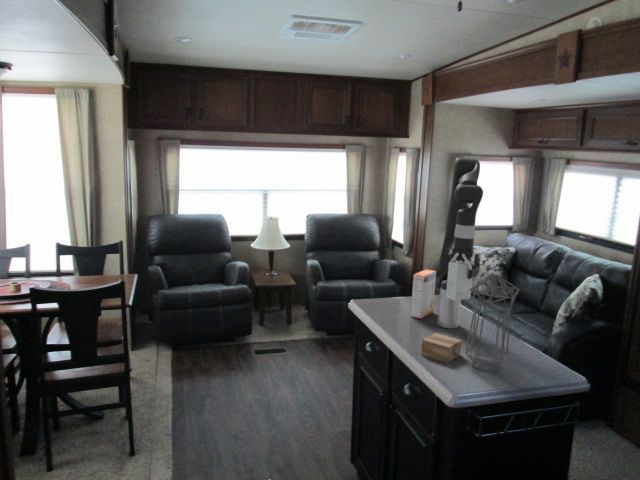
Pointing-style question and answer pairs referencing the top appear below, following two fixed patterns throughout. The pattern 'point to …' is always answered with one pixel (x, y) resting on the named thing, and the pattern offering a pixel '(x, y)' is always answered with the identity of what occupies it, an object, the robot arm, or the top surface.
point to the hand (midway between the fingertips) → (460, 276)
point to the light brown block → (441, 347)
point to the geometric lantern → (493, 315)
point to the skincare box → (458, 281)
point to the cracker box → (423, 293)
